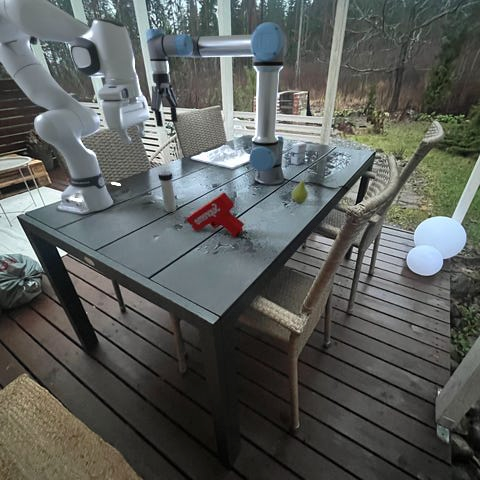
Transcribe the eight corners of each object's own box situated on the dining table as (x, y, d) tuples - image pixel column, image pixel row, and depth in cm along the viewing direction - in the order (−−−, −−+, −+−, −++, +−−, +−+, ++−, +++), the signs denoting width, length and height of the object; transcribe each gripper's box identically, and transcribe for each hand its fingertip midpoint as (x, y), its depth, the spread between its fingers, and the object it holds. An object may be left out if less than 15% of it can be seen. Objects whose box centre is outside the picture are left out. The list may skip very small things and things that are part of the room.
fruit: (288, 200, 123) (290, 174, 116) (302, 197, 125) (305, 172, 119) (296, 206, 118) (299, 179, 111) (310, 203, 120) (314, 177, 114)
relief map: (233, 169, 161) (232, 160, 158) (191, 159, 178) (190, 151, 176) (258, 158, 179) (258, 150, 176) (218, 150, 197) (217, 142, 194)
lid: (156, 179, 108) (155, 174, 106) (165, 175, 111) (164, 170, 110) (166, 181, 105) (165, 176, 104) (175, 177, 109) (174, 172, 108)
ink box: (298, 160, 174) (300, 141, 168) (304, 162, 171) (307, 142, 165) (290, 163, 169) (292, 143, 163) (296, 165, 166) (299, 145, 160)
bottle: (163, 210, 115) (156, 174, 107) (170, 206, 119) (164, 171, 110) (171, 213, 113) (165, 176, 105) (178, 208, 117) (173, 173, 108)
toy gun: (250, 225, 97) (225, 191, 93) (246, 231, 93) (220, 196, 89) (215, 244, 107) (191, 214, 103) (210, 250, 103) (185, 219, 99)
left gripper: (131, 88, 87) (140, 133, 95) (93, 93, 70) (108, 148, 78) (149, 87, 86) (157, 133, 94) (116, 93, 69) (128, 148, 77)
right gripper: (167, 72, 132) (173, 119, 143) (136, 73, 112) (146, 128, 123) (181, 72, 130) (186, 120, 141) (151, 73, 110) (160, 129, 121)
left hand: (135, 140), depth 86 cm, fingers open, 8 cm apart
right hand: (167, 124), depth 132 cm, fingers open, 13 cm apart
